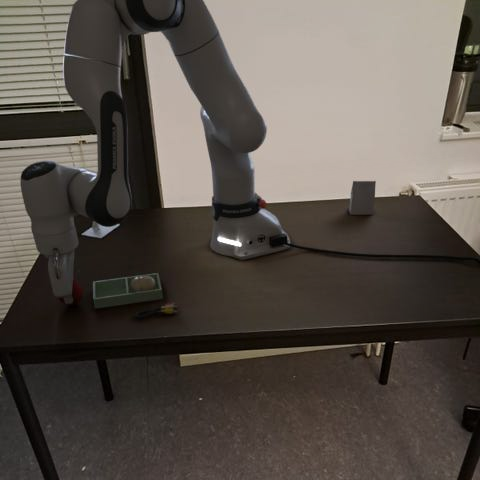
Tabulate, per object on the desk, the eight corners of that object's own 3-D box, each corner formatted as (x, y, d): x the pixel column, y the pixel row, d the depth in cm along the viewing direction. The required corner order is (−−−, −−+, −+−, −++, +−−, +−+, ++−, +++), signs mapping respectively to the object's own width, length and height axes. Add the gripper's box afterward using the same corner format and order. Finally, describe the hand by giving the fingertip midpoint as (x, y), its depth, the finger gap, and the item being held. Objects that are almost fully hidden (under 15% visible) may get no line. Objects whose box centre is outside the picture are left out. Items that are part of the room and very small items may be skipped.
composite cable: (135, 321, 115) (133, 312, 114) (136, 309, 119) (135, 300, 118) (179, 317, 116) (178, 308, 115) (179, 306, 120) (178, 297, 118)
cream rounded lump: (155, 286, 127) (153, 271, 124) (157, 294, 124) (155, 279, 121) (131, 289, 126) (128, 274, 123) (132, 298, 122) (129, 283, 120)
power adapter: (91, 231, 154) (89, 222, 152) (96, 228, 156) (94, 218, 154) (100, 233, 153) (98, 223, 151) (105, 229, 155) (103, 220, 153)
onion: (78, 313, 118) (71, 283, 114) (55, 311, 119) (47, 281, 115) (89, 299, 123) (83, 270, 118) (67, 297, 124) (60, 268, 119)
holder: (159, 282, 129) (158, 272, 127) (163, 299, 122) (161, 289, 121) (95, 291, 126) (92, 281, 124) (95, 309, 120) (92, 299, 118)
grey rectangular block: (372, 214, 159) (376, 183, 154) (350, 214, 160) (353, 183, 154) (370, 209, 162) (374, 179, 157) (349, 209, 163) (352, 179, 157)
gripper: (69, 259, 103) (83, 315, 111) (72, 218, 120) (84, 270, 128) (37, 263, 102) (53, 320, 110) (44, 222, 119) (58, 273, 127)
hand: (70, 293), depth 119 cm, fingers open, 6 cm apart
